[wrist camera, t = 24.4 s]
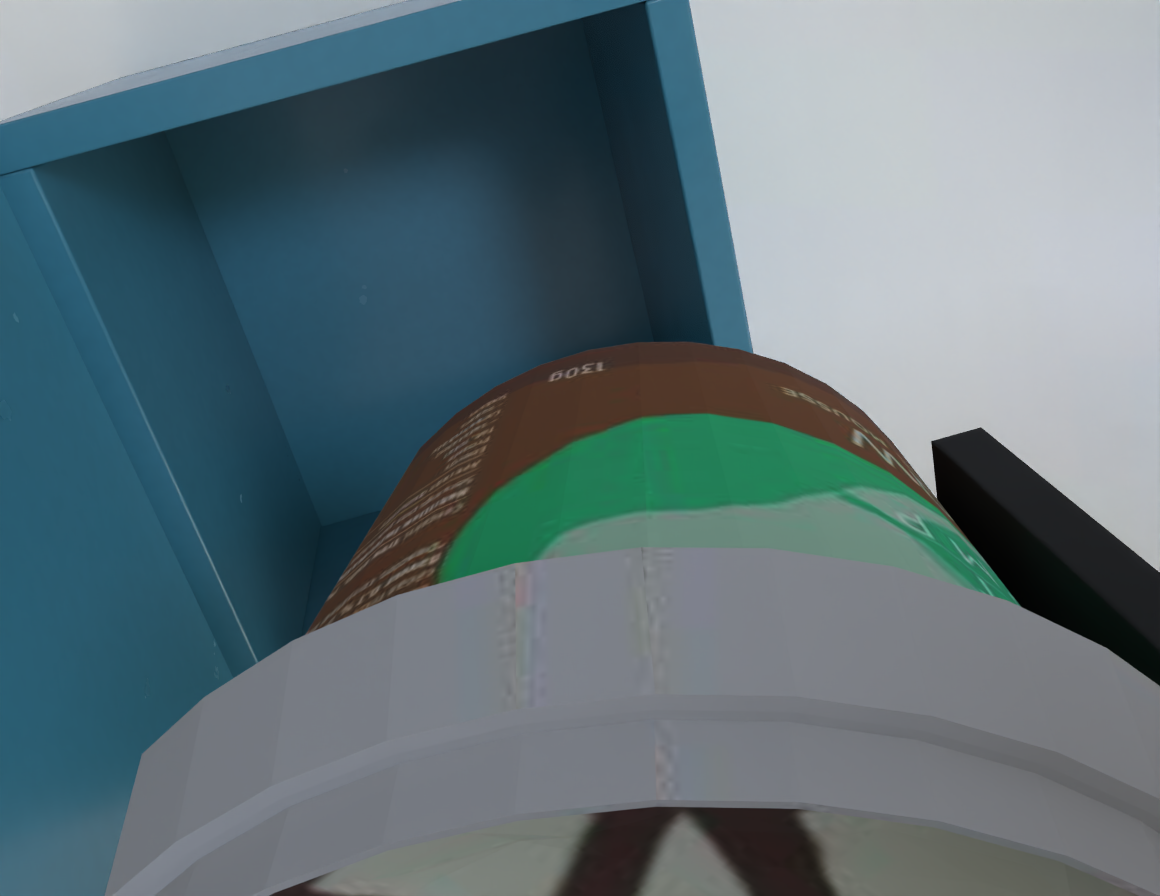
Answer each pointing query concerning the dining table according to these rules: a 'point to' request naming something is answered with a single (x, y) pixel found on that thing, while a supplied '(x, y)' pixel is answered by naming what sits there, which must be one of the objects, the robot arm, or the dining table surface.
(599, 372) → the food container
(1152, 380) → the dining table surface
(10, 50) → the dining table surface
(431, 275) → the box
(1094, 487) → the dining table surface
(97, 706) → the freezer lid
